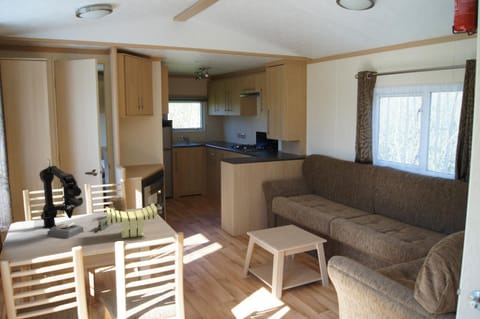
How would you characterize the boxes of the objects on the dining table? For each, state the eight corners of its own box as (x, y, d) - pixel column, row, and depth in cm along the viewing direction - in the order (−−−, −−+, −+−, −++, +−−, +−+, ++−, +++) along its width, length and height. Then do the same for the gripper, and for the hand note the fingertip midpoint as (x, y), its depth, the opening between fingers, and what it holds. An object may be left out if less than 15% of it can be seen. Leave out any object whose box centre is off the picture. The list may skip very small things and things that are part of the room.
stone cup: (111, 216, 302) (110, 196, 300) (127, 214, 308) (127, 194, 306) (115, 221, 289) (114, 200, 287) (132, 219, 294) (131, 199, 292)
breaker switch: (56, 229, 259) (55, 227, 259) (62, 226, 265) (62, 224, 265) (68, 226, 256) (67, 224, 256) (74, 223, 262) (74, 221, 262)
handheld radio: (116, 222, 287) (98, 233, 262) (112, 222, 287) (93, 233, 263) (116, 213, 286) (97, 223, 261) (111, 213, 286) (92, 223, 262)
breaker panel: (47, 235, 257) (47, 229, 256) (63, 229, 270) (62, 222, 270) (68, 238, 253) (68, 231, 252) (83, 231, 266) (82, 224, 265)
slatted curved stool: (108, 241, 247) (107, 213, 245) (107, 233, 262) (106, 206, 259) (157, 235, 257) (156, 208, 255) (154, 228, 272) (153, 202, 270)
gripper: (68, 198, 245) (70, 223, 248) (88, 192, 263) (89, 215, 265) (53, 197, 249) (55, 221, 251) (74, 190, 266) (75, 213, 269)
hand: (70, 217), depth 259 cm, fingers closed
